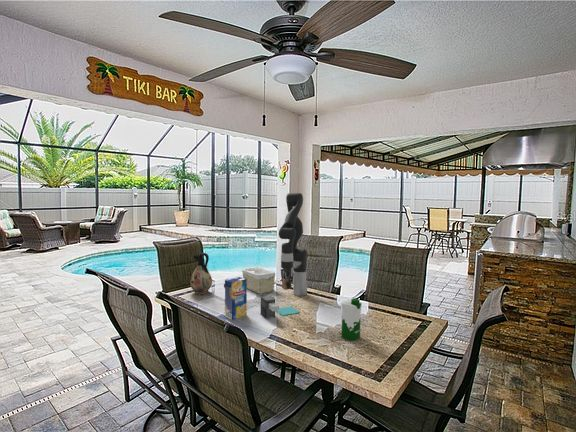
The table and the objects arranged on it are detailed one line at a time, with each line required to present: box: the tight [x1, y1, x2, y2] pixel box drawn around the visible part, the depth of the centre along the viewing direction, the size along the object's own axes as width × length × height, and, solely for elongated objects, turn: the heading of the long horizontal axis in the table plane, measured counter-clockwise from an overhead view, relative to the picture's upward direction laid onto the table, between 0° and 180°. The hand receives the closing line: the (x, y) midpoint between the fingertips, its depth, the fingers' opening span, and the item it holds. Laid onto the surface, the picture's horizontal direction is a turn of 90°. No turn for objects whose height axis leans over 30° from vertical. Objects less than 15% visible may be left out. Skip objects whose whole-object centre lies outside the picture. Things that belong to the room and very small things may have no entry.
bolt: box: [267, 302, 280, 312], centre depth 193 cm, size 4×16×2 cm, turn 27°
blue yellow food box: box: [224, 276, 248, 321], centre depth 194 cm, size 7×11×22 cm, turn 138°
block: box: [281, 278, 293, 291], centre depth 203 cm, size 4×4×6 cm
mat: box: [275, 305, 301, 317], centre depth 204 cm, size 12×12×1 cm
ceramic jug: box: [189, 252, 213, 295], centre depth 238 cm, size 17×15×30 cm
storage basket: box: [241, 266, 276, 295], centre depth 250 cm, size 24×16×15 cm
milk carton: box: [340, 298, 363, 342], centre depth 167 cm, size 9×9×20 cm
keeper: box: [260, 295, 276, 319], centre depth 196 cm, size 7×7×11 cm
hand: (286, 287), depth 203 cm, fingers closed on block, 4 cm apart
